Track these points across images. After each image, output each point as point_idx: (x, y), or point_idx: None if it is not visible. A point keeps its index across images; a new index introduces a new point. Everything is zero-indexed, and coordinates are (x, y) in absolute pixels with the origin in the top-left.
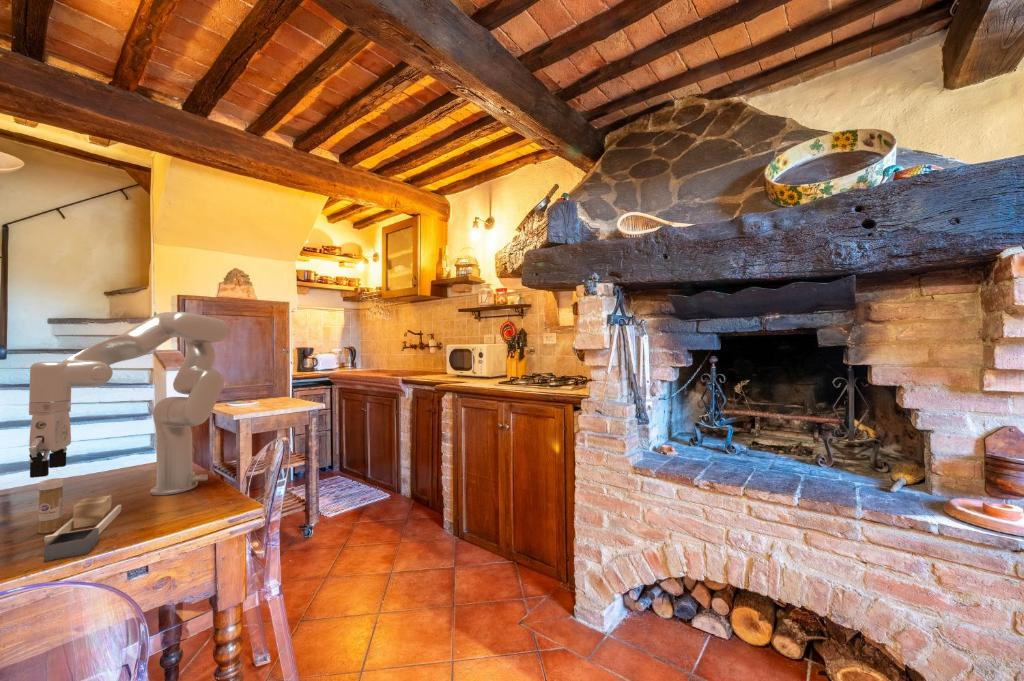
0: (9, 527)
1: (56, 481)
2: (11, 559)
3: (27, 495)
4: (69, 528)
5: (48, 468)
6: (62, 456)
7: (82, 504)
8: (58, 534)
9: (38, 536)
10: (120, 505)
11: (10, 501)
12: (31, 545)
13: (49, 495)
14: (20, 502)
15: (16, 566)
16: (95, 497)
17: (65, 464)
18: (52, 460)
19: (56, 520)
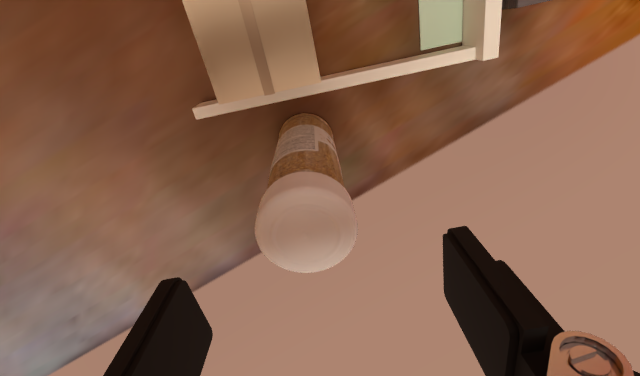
0: (251, 256)
1: (334, 198)
2: (506, 106)
3: (17, 359)
4: (330, 75)
5: (482, 260)
6: (150, 362)
7: (304, 54)
8: (524, 4)
9: (347, 143)
10: None
11: (64, 362)
12: (416, 118)
13: (342, 183)
14: (70, 341)
15: (574, 57)
16: (204, 54)
17: (167, 284)
18: (191, 373)
19: (321, 126)
